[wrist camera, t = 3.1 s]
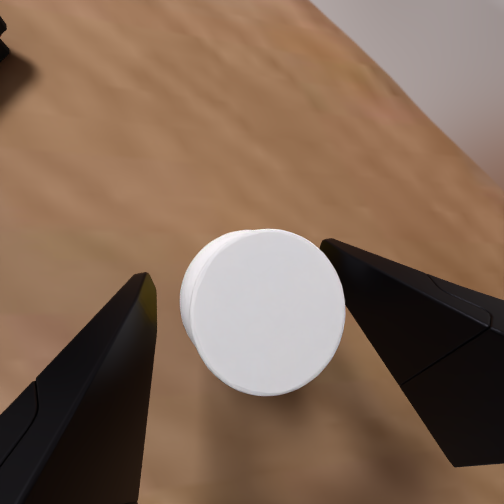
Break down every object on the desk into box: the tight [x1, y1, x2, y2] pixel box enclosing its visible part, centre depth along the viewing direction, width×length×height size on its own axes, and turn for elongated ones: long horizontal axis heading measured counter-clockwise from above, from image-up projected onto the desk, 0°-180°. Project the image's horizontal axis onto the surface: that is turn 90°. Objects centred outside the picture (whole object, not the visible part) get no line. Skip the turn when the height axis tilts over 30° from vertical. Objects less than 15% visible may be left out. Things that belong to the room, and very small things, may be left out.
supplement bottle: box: [180, 229, 345, 396], centre depth 9 cm, size 5×5×10 cm
